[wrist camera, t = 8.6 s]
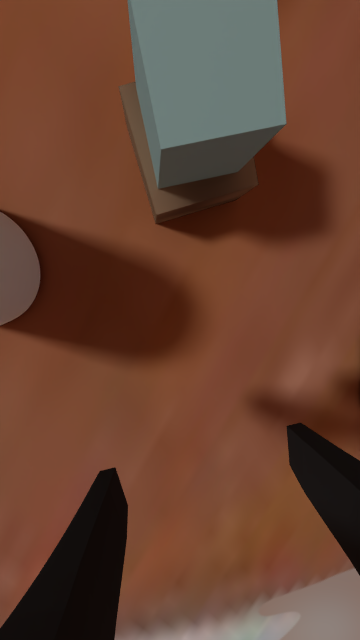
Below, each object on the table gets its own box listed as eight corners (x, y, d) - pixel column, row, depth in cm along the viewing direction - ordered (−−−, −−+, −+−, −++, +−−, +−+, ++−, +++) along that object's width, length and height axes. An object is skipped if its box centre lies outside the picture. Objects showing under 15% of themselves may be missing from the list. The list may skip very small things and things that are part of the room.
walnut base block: (215, 103, 16) (235, 53, 12) (235, 200, 17) (258, 184, 13) (127, 128, 15) (118, 86, 12) (155, 224, 17) (156, 214, 13)
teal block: (224, 72, 12) (273, -52, 7) (237, 172, 13) (286, 123, 8) (136, 88, 12) (124, -27, 7) (158, 189, 13) (160, 149, 8)
